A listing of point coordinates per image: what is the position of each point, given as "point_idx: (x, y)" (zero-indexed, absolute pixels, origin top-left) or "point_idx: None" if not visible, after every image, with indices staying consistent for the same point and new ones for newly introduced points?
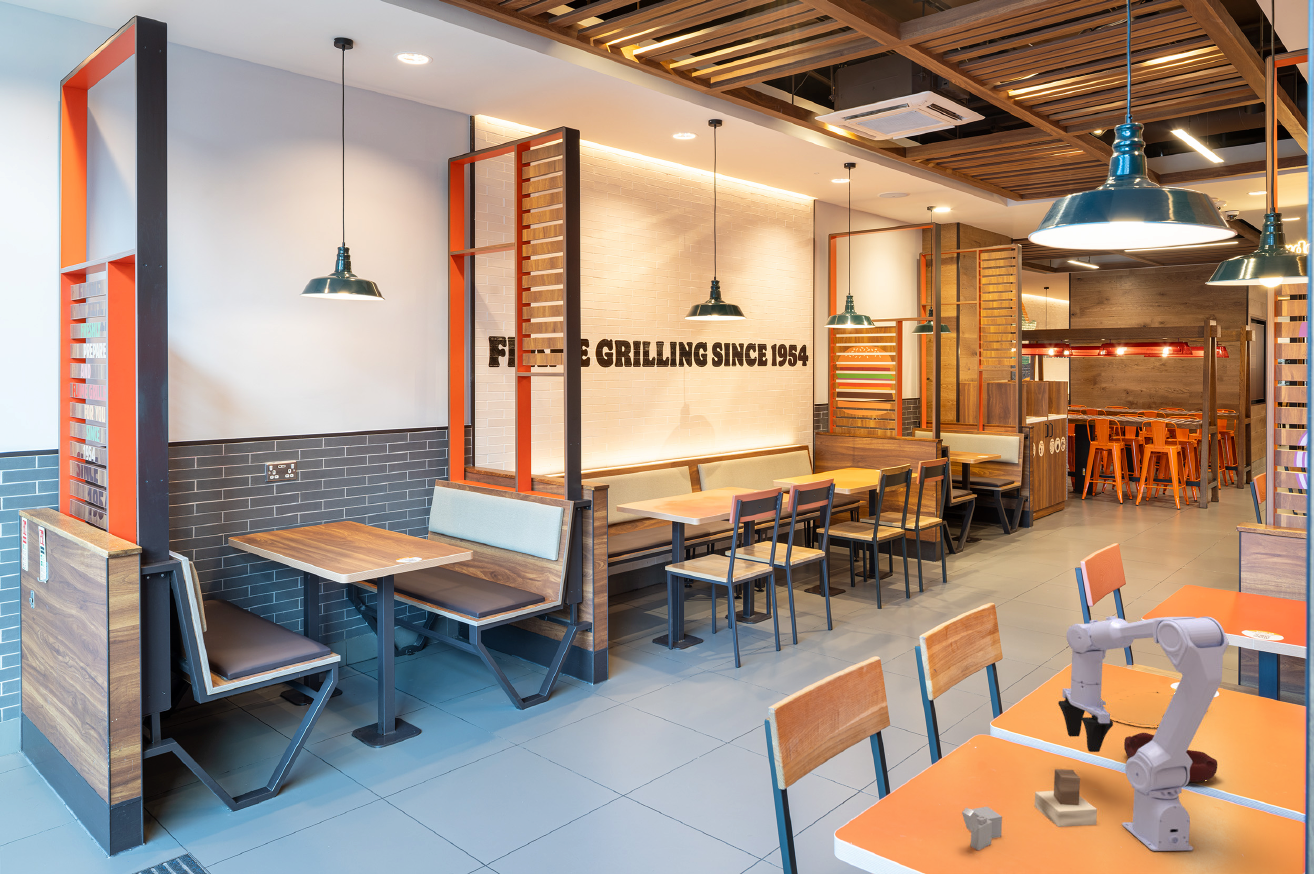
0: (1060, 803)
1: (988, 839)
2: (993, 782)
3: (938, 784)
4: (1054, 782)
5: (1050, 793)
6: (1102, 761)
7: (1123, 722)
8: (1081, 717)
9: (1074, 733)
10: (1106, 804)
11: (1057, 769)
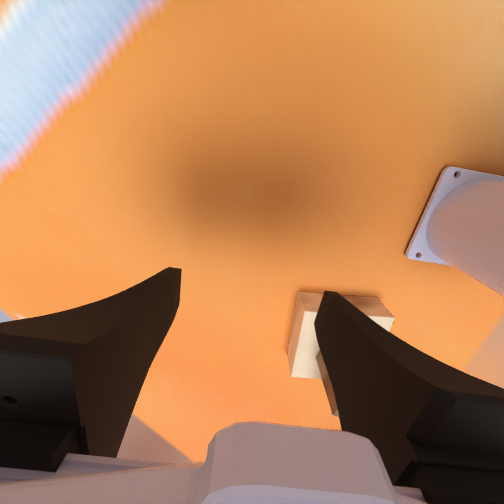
0: None
1: None
2: (190, 365)
3: (188, 432)
4: (324, 383)
5: (305, 357)
6: (74, 9)
7: None
8: (140, 313)
9: (176, 294)
10: (321, 220)
11: (337, 411)
